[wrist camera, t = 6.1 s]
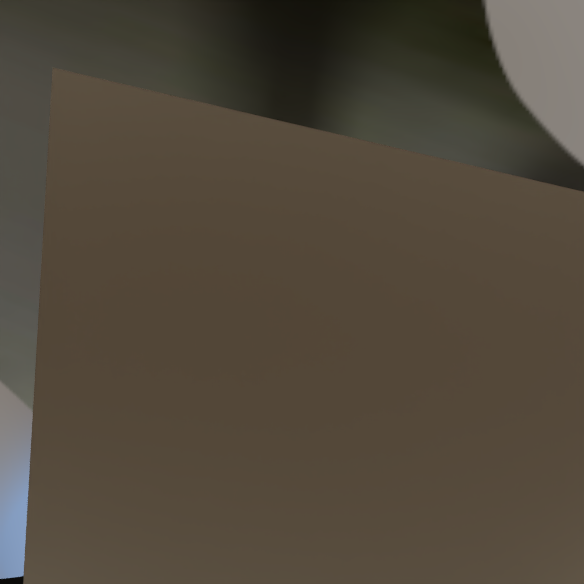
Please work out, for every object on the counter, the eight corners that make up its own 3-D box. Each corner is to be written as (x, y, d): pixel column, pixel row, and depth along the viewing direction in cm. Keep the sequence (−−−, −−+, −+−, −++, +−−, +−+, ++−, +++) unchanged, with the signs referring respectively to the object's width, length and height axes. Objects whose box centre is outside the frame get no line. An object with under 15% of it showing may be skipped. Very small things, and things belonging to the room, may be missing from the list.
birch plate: (276, 177, 12) (53, 69, 1) (369, 198, 12) (801, 241, 2) (193, 585, 16) (-19, 1313, 6) (262, 600, 16) (179, 1349, 6)
